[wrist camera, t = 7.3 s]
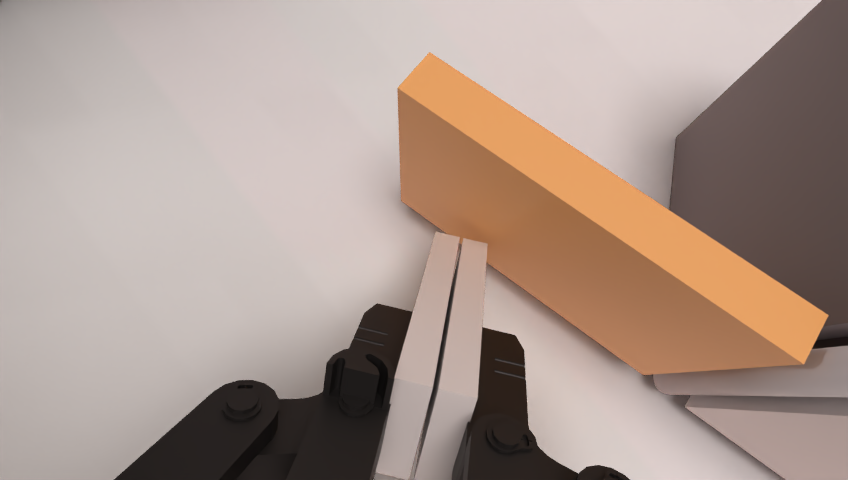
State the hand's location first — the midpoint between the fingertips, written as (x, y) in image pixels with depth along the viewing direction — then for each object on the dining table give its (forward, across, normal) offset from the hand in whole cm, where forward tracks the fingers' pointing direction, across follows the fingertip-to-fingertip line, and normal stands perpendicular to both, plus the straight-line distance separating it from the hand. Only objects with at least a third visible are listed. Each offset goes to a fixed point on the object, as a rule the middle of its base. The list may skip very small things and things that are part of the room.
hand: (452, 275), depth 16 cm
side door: (+1, +7, -2) cm, 8 cm away
